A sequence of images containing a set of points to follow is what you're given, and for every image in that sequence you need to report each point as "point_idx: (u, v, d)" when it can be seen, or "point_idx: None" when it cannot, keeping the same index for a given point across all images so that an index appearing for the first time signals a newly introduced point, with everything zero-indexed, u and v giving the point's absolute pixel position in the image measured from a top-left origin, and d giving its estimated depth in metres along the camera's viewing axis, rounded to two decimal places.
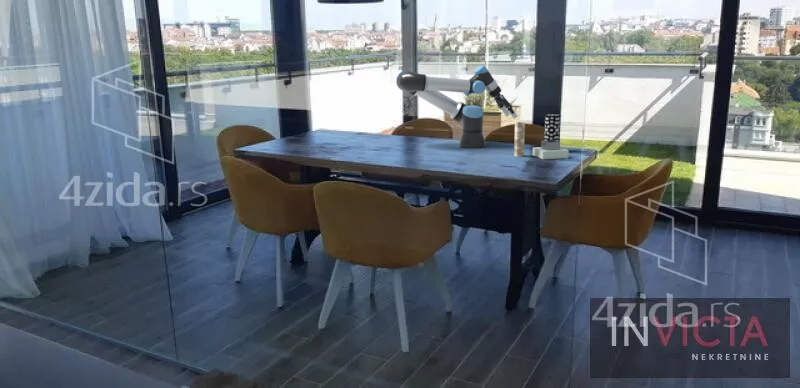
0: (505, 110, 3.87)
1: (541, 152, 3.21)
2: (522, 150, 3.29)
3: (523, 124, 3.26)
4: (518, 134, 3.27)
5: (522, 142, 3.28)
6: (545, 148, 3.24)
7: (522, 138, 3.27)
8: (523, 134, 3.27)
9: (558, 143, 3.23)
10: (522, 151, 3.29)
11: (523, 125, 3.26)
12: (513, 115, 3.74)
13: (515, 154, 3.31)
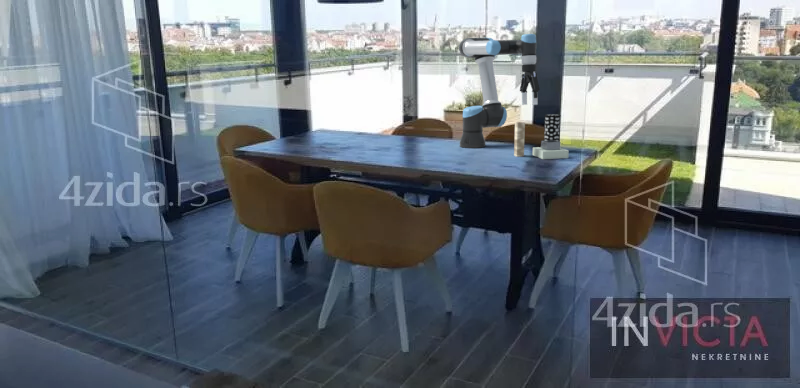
0: (525, 97, 3.38)
1: (541, 152, 3.21)
2: (522, 150, 3.29)
3: (523, 124, 3.26)
4: (518, 134, 3.27)
5: (522, 142, 3.28)
6: (545, 148, 3.24)
7: (522, 138, 3.27)
8: (523, 134, 3.27)
9: (558, 143, 3.23)
10: (522, 151, 3.29)
11: (523, 125, 3.26)
12: (534, 100, 3.24)
13: (515, 154, 3.31)
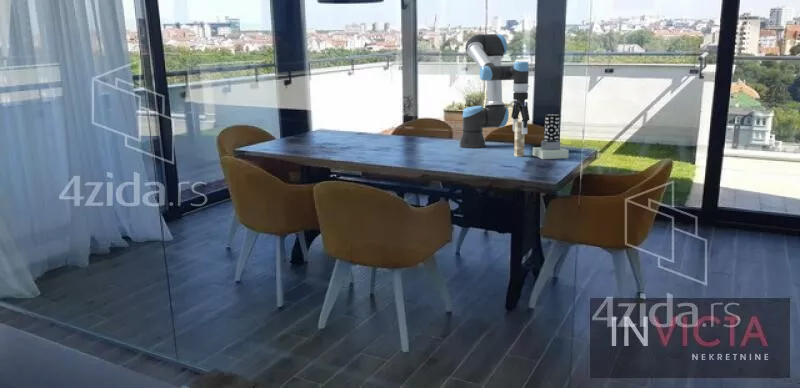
0: None
1: (541, 152, 3.21)
2: (522, 150, 3.29)
3: None
4: (518, 134, 3.27)
5: (522, 142, 3.28)
6: (545, 148, 3.24)
7: (522, 138, 3.27)
8: (523, 134, 3.27)
9: (558, 143, 3.23)
10: (522, 151, 3.29)
11: None
12: (523, 130, 3.21)
13: (515, 154, 3.31)
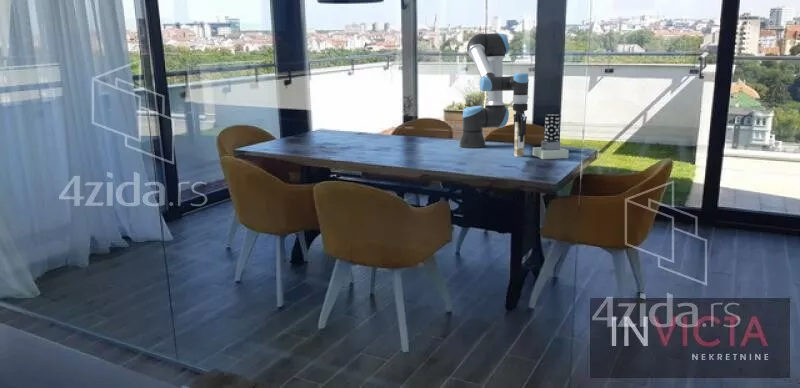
0: None
1: (541, 152, 3.21)
2: (522, 150, 3.29)
3: None
4: (518, 134, 3.27)
5: None
6: (545, 148, 3.24)
7: None
8: None
9: (558, 143, 3.23)
10: (522, 151, 3.29)
11: None
12: (520, 144, 3.27)
13: (515, 154, 3.31)
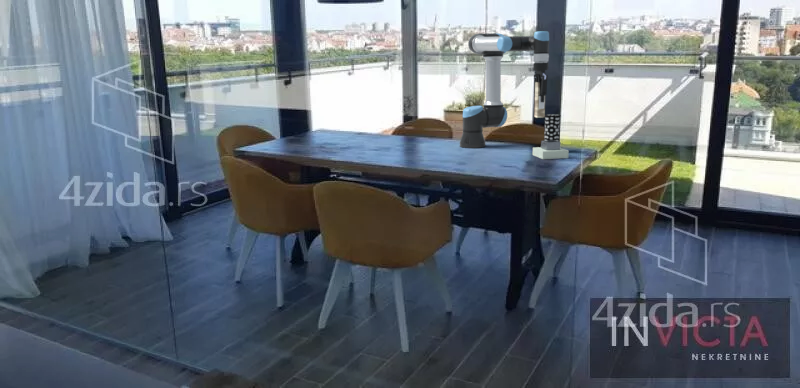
0: None
1: (541, 152, 3.21)
2: (543, 111, 3.22)
3: None
4: (538, 94, 3.20)
5: None
6: (545, 148, 3.24)
7: None
8: None
9: (558, 143, 3.23)
10: (542, 111, 3.22)
11: None
12: (540, 104, 3.20)
13: (535, 115, 3.24)
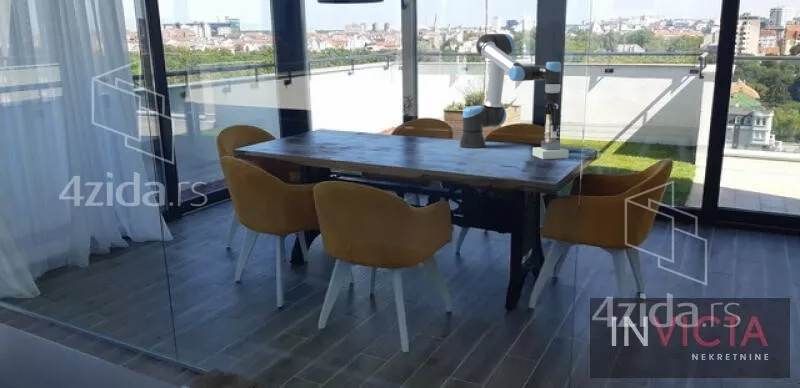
0: None
1: (541, 152, 3.21)
2: None
3: None
4: (550, 127, 3.22)
5: None
6: (545, 148, 3.24)
7: None
8: None
9: (558, 143, 3.23)
10: None
11: None
12: (553, 133, 3.21)
13: None
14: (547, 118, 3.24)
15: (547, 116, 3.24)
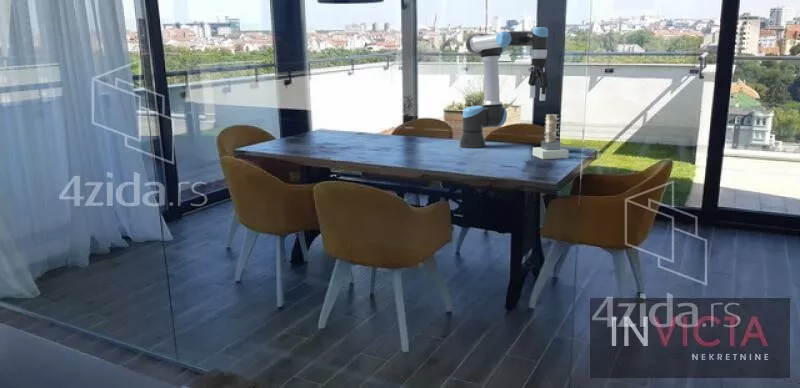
0: (533, 91, 3.32)
1: (541, 152, 3.21)
2: None
3: (555, 116, 3.22)
4: (550, 127, 3.22)
5: (554, 135, 3.24)
6: (545, 148, 3.24)
7: (554, 131, 3.23)
8: (555, 127, 3.23)
9: (558, 143, 3.23)
10: None
11: (555, 118, 3.22)
12: (541, 96, 3.19)
13: None
14: (547, 118, 3.24)
15: (547, 116, 3.23)
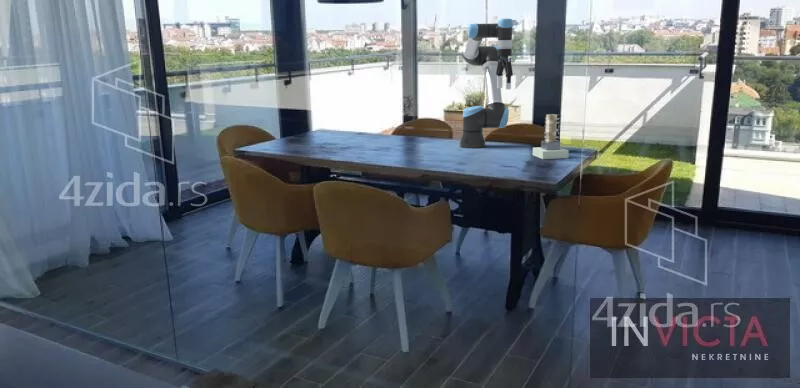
0: (500, 81, 3.43)
1: (541, 152, 3.21)
2: None
3: (555, 116, 3.22)
4: (550, 127, 3.22)
5: (554, 135, 3.24)
6: (545, 148, 3.24)
7: (554, 131, 3.23)
8: (555, 127, 3.23)
9: (558, 143, 3.23)
10: None
11: (555, 118, 3.22)
12: (507, 85, 3.30)
13: None
14: (547, 118, 3.24)
15: (547, 116, 3.23)
